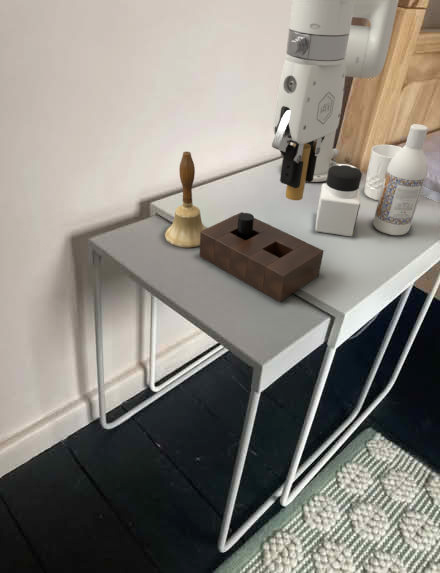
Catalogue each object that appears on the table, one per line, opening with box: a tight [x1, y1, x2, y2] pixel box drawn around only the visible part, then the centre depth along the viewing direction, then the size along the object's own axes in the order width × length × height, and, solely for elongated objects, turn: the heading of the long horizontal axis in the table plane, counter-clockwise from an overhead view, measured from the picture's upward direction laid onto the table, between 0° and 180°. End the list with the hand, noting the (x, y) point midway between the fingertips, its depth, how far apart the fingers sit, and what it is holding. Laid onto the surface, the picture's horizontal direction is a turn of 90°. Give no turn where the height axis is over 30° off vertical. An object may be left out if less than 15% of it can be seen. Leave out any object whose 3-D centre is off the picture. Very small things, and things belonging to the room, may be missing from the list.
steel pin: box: [237, 212, 255, 241], centre depth 84 cm, size 3×3×8 cm
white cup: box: [363, 144, 403, 201], centre depth 107 cm, size 8×8×10 cm
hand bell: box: [164, 151, 207, 249], centre depth 87 cm, size 8×8×16 cm
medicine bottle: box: [314, 163, 363, 237], centre depth 94 cm, size 7×7×12 cm
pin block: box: [199, 211, 325, 303], centre depth 83 cm, size 18×11×5 cm, turn 47°
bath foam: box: [372, 123, 429, 236], centre depth 92 cm, size 7×7×20 cm
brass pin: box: [285, 143, 311, 201], centre depth 73 cm, size 3×3×8 cm
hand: (296, 180), depth 74 cm, fingers closed on brass pin, 2 cm apart
